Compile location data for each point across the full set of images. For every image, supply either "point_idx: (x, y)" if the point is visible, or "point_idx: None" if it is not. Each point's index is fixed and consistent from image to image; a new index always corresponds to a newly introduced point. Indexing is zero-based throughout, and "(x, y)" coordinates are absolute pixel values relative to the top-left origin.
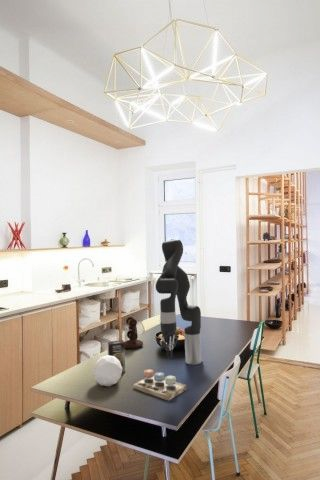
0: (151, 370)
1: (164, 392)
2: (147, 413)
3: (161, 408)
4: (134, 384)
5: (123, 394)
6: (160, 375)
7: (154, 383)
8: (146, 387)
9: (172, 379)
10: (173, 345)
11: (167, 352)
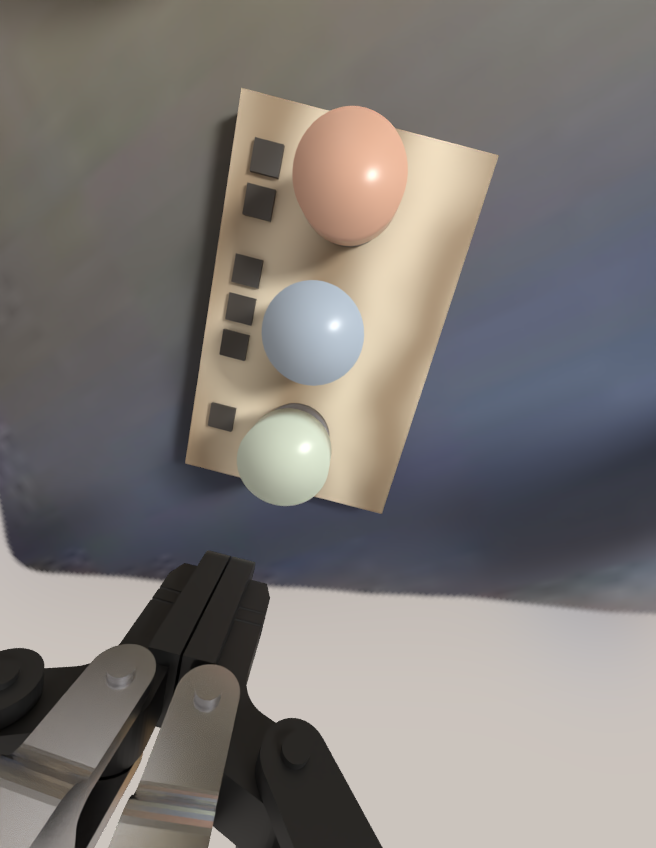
0: (382, 196)
1: (209, 425)
2: (15, 404)
3: (100, 452)
4: (241, 103)
5: (125, 89)
6: (293, 358)
7: (328, 276)
8: (235, 249)
9: (255, 491)
10: (238, 844)
11: (140, 637)
